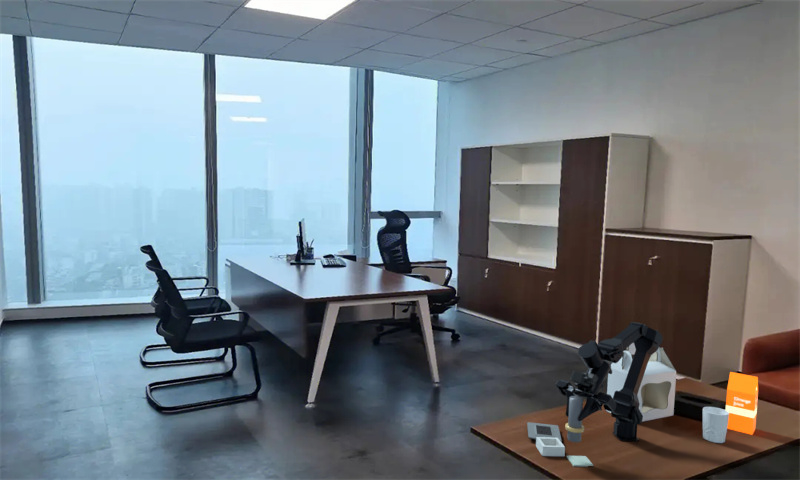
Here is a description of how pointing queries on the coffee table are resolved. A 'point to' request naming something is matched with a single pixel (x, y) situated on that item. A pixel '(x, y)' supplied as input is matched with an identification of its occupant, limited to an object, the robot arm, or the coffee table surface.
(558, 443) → the frame
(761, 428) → the coffee table surface
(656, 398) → the gable box
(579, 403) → the grey tapered rounded cylinder
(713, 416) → the white cup
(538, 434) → the electrical outlet
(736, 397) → the orange juice
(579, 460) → the rubber pad
